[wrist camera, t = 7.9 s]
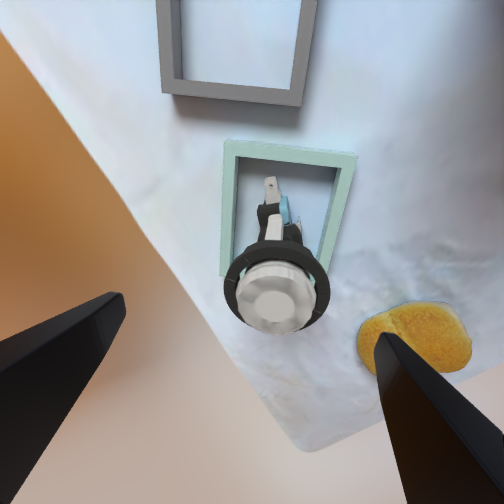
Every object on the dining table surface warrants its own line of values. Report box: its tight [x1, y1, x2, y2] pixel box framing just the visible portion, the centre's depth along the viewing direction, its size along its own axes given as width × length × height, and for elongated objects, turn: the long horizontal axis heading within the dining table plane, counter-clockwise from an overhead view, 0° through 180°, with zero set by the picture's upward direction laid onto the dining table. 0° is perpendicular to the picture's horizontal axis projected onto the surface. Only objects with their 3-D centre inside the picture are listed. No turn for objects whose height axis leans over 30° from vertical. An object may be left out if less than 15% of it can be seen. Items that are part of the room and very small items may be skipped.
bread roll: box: [357, 301, 472, 376], centre depth 23 cm, size 8×9×4 cm
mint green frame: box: [219, 139, 358, 287], centre depth 20 cm, size 9×11×2 cm
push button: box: [224, 176, 330, 335], centre depth 17 cm, size 7×5×10 cm
